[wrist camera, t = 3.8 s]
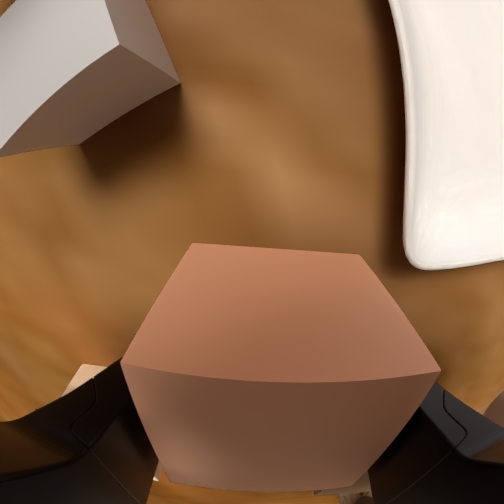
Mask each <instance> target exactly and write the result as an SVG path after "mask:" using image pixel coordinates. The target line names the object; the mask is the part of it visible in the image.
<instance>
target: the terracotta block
mask: <svg viewBox="0 0 504 504" xmlns="http://www.w3.org/2000/svg"><path fill="white" fill-rule="evenodd" d="M120 364H121V367H122V370H123V373H124V376H125V379H126V382H127V385H128V388H129V391H130V394H131V396H132V399H133V402H134V404H135V407H136V409H137V412H138V414H139V417H140V419H141V422H142V424H143V426H144V429H145V431H146V433H147V436H148V438H149V440H150V442H151V444H152V447H153V449H154V451H155V453H156V455H157V457H158V459H159V461H160V463H161V465H162V467H163V469H164V471H165V473H166V475H167V476H168V478H169V480H170V482H173V483H178V484H184V485H190V486H196V487H203V488H210V489H219V490H230V491H244V492H301V491H315V490H325V489H334V488H342V487H349V486H352V485H353V484H354V483H355V482H356V481H357V480H358V479H359V478H360V477H361V476H362V475H363V474H364V473H365V472H366V471H367V470H368V469H369V468H370V467H371V466H372V464H373V463H374V462H375V461H376V460H377V459H378V458H379V457H380V456H381V454H382V453H383V452H384V451H385V450H386V449H387V447H388V446H389V445H390V444H391V443H392V441H393V440H394V439H395V438H396V437H397V435H398V434H399V433H400V431H401V430H402V429H403V428H404V426H405V425H406V424H407V422H408V421H409V420H410V418H411V417H412V415H413V414H414V413H415V411H416V410H417V408H418V407H419V406H420V404H421V403H422V401H423V400H424V398H425V397H426V395H427V394H428V392H429V390H430V389H431V387H432V386H433V384H434V382H435V381H436V379H437V377H438V376H439V374H440V372H441V369H440V367H439V366H438V364H437V363H436V361H435V359H434V358H433V356H432V355H431V353H430V352H429V350H428V348H427V347H426V345H425V344H424V342H423V341H422V339H421V338H420V336H419V335H418V333H417V332H416V330H415V329H414V328H413V326H412V325H411V323H410V322H409V320H408V319H407V317H406V316H405V315H404V313H403V312H402V310H401V309H400V307H399V306H398V305H397V303H396V302H395V301H394V299H393V298H392V296H391V295H390V294H389V292H388V291H387V290H386V288H385V287H384V286H383V284H382V283H381V282H380V280H379V279H378V278H377V276H376V275H375V274H374V273H373V271H372V270H371V269H370V267H369V266H368V265H367V264H366V262H365V261H364V260H363V258H362V257H361V256H360V255H359V254H345V253H331V252H317V251H303V250H289V249H275V248H260V247H245V246H231V245H216V244H200V243H192V244H191V246H190V247H189V249H188V250H187V252H186V253H185V255H184V256H183V258H182V260H181V261H180V263H179V264H178V266H177V267H176V269H175V271H174V272H173V274H172V275H171V277H170V278H169V280H168V282H167V283H166V285H165V287H164V288H163V290H162V291H161V293H160V295H159V296H158V298H157V300H156V301H155V303H154V305H153V306H152V308H151V310H150V311H149V313H148V315H147V316H146V318H145V320H144V321H143V323H142V325H141V326H140V328H139V330H138V332H137V333H136V335H135V337H134V339H133V340H132V342H131V344H130V346H129V347H128V349H127V351H126V353H125V354H124V356H123V358H122V360H121V362H120Z"/></svg>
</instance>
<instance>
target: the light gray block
mask: <svg viewBox="0 0 504 504" xmlns="http://www.w3.org/2000/svg"><path fill="white" fill-rule="evenodd" d="M180 83H181V82H180V80H179V78H178V75H177V73H176V71H175V68H174V66H173V63H172V61H171V59H170V56H169V54H168V52H167V49H166V47H165V45H164V42H163V40H162V38H161V35H160V33H159V30H158V28H157V26H156V23H155V21H154V19H153V16H152V14H151V12H150V9H149V7H148V5H147V2H146V0H16V1H15V2H14V3H13V4H12V5H11V6H10V7H9V8H8V9H7V11H6V12H5V13H4V14H3V15H2V16H1V17H0V157H3V156H8V155H13V154H18V153H24V152H29V151H35V150H42V149H48V148H56V147H63V146H72V145H80V144H81V143H82V142H84V141H85V140H86V139H88V138H89V137H91V136H92V135H93V134H95V133H96V132H98V131H99V130H101V129H102V128H104V127H105V126H107V125H108V124H110V123H111V122H113V121H114V120H116V119H117V118H119V117H120V116H122V115H124V114H125V113H127V112H129V111H130V110H132V109H134V108H135V107H137V106H139V105H140V104H142V103H144V102H146V101H148V100H149V99H151V98H153V97H155V96H157V95H159V94H160V93H162V92H164V91H166V90H168V89H170V88H172V87H174V86H176V85H178V84H180Z"/></svg>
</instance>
